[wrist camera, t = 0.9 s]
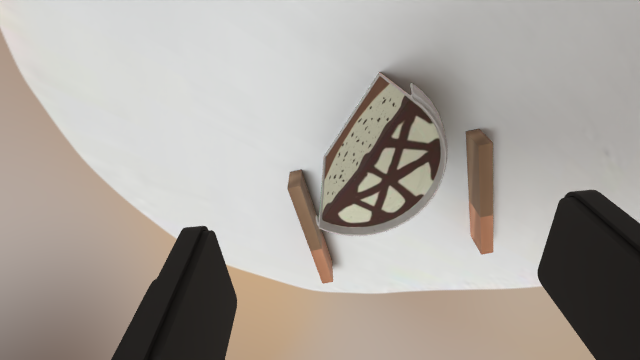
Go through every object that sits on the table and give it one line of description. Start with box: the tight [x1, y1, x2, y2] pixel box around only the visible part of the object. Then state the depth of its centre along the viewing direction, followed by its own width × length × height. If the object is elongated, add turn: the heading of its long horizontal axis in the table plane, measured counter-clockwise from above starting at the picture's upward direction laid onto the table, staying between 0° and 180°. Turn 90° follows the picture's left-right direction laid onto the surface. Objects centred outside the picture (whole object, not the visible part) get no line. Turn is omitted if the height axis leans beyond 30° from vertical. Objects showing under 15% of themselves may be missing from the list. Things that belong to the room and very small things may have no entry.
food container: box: [316, 72, 447, 236], centre depth 28 cm, size 12×6×10 cm, turn 150°
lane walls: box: [288, 129, 493, 283], centre depth 35 cm, size 18×13×3 cm
